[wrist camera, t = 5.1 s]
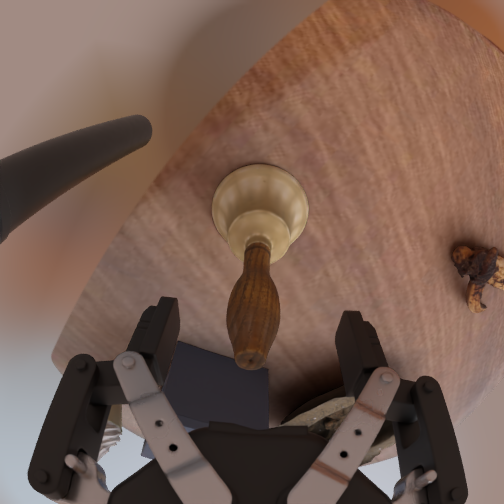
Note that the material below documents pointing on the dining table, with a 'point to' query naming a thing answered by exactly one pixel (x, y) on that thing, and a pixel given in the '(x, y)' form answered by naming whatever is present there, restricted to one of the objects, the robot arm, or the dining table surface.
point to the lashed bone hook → (479, 272)
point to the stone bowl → (336, 420)
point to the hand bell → (257, 251)
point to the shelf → (214, 391)
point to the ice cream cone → (111, 430)
